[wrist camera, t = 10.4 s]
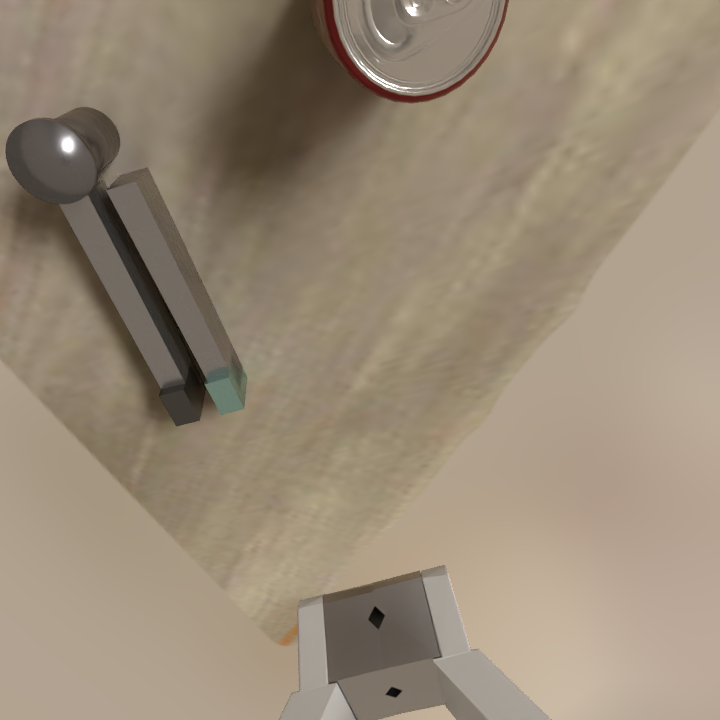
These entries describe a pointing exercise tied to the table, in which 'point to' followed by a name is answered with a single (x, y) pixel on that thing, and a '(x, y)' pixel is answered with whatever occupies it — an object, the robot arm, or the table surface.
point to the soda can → (409, 42)
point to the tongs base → (106, 240)
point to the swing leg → (180, 286)
